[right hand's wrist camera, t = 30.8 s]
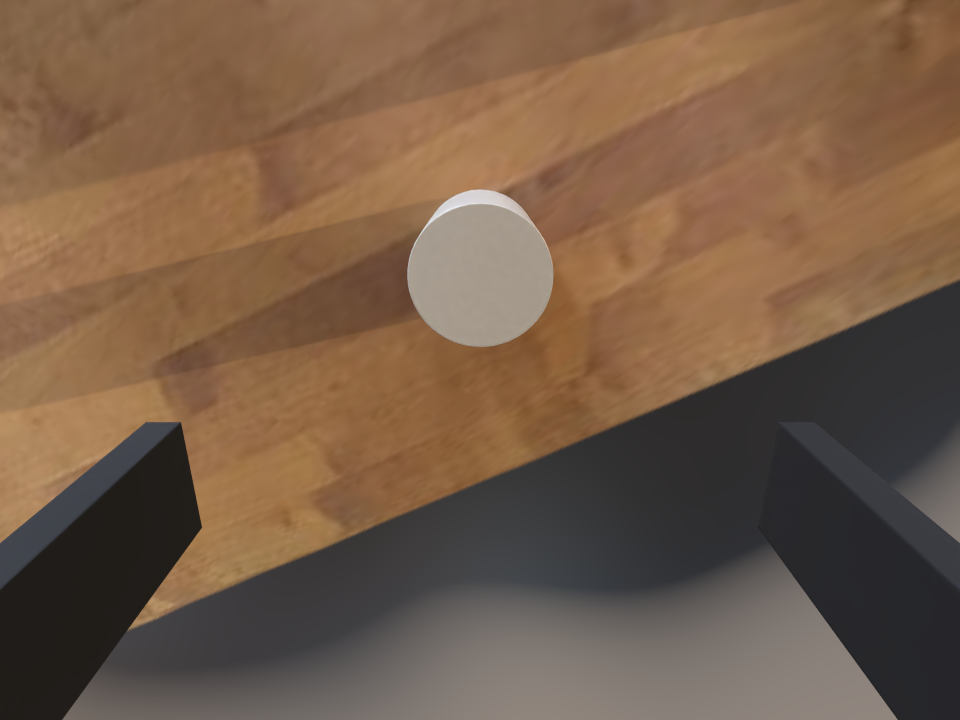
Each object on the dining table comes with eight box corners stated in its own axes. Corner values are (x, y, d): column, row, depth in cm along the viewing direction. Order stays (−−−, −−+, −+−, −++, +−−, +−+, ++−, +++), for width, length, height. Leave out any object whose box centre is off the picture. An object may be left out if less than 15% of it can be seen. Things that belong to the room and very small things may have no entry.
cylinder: (556, 269, 42) (578, 303, 33) (460, 323, 43) (455, 371, 34) (501, 166, 39) (508, 173, 30) (401, 227, 41) (378, 251, 32)
